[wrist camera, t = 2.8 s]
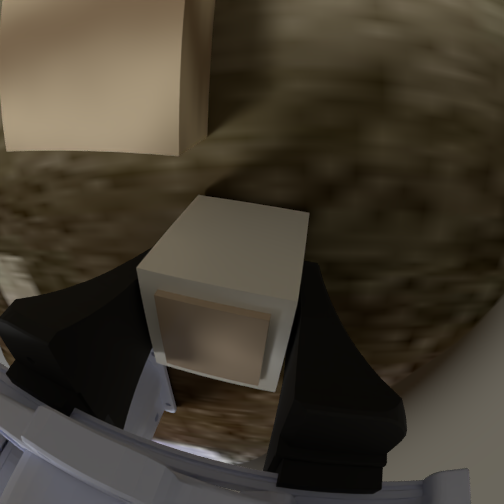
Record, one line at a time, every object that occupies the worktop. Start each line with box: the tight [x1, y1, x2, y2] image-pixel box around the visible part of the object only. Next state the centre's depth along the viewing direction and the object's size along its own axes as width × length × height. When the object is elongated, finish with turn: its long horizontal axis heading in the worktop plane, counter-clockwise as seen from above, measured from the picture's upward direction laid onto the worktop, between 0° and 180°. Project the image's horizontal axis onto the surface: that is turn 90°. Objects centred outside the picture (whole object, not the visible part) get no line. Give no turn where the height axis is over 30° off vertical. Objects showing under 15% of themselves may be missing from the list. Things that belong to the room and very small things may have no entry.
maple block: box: [0, 0, 215, 156], centre depth 8 cm, size 9×9×3 cm
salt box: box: [136, 195, 309, 392], centre depth 11 cm, size 4×4×5 cm
